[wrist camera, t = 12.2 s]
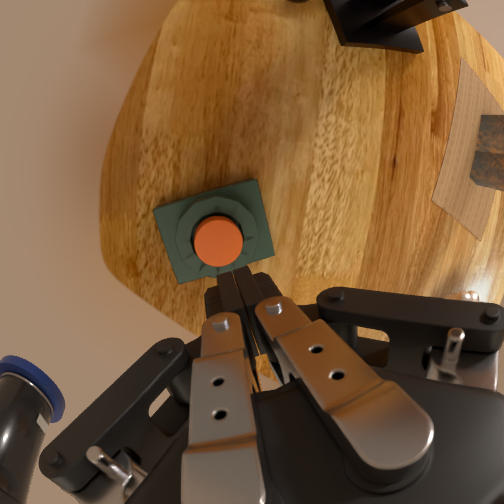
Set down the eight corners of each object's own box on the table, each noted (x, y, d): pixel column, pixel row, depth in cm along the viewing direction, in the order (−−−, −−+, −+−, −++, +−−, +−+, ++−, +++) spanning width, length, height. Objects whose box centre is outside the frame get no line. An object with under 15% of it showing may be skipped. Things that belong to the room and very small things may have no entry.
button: (202, 264, 22) (202, 272, 21) (188, 223, 21) (187, 228, 20) (244, 251, 23) (248, 258, 21) (232, 209, 22) (235, 213, 20)
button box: (179, 277, 26) (178, 293, 22) (155, 207, 23) (148, 213, 20) (270, 249, 27) (281, 262, 23) (252, 178, 24) (261, 180, 21)
